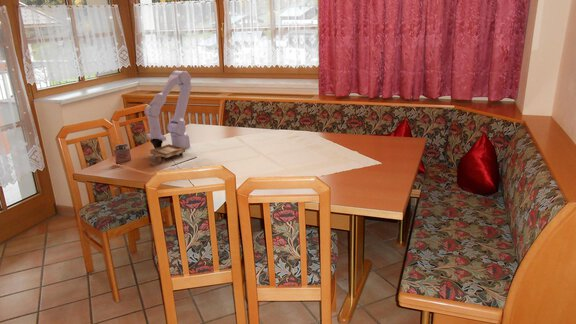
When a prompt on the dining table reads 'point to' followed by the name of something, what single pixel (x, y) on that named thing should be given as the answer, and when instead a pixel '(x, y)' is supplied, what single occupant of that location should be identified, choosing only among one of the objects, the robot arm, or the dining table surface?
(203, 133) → the dining table surface
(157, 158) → the block
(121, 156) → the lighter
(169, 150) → the tray
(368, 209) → the dining table surface
